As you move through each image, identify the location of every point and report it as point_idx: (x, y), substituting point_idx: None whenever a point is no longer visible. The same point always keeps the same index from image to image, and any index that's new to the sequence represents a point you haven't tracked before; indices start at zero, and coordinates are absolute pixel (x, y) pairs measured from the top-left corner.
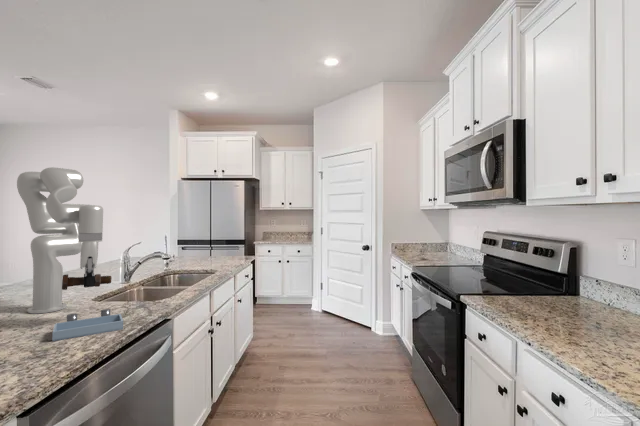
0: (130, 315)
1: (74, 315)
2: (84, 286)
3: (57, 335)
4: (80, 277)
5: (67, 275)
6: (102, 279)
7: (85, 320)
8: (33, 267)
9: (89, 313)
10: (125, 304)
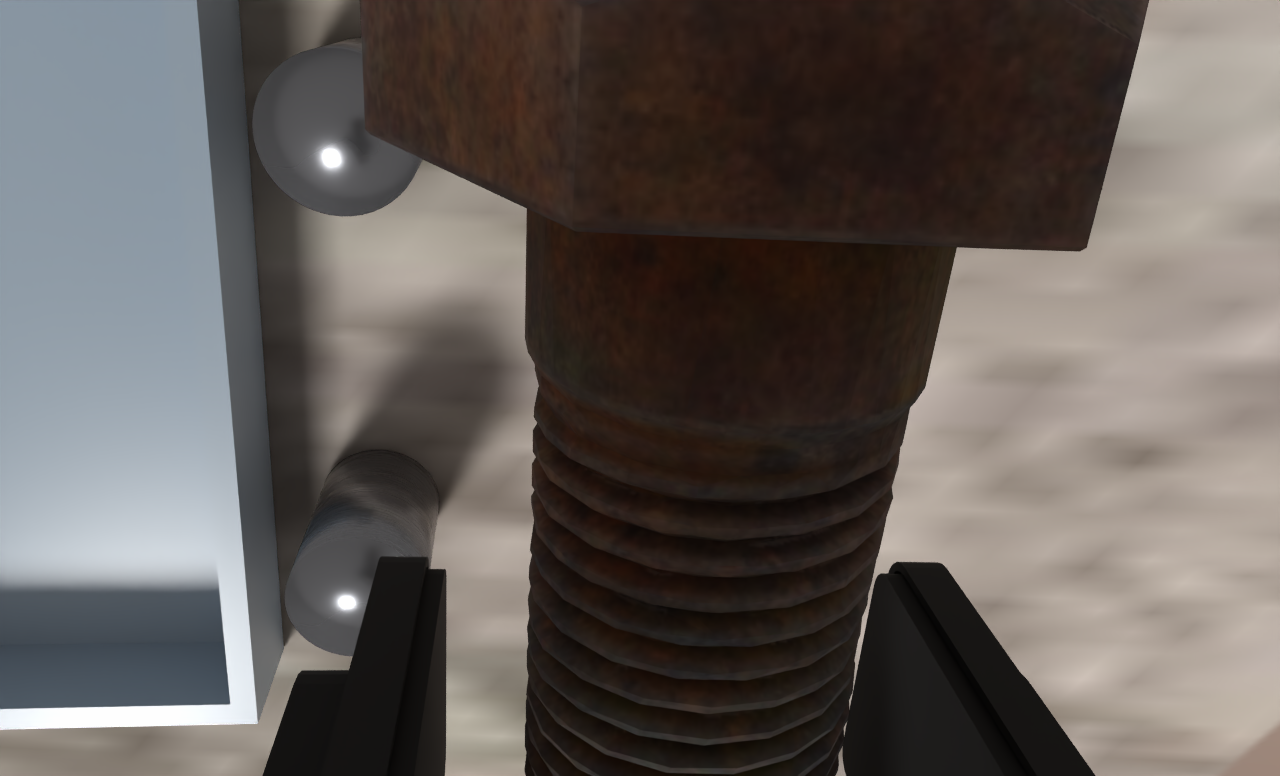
0: (524, 753)
1: (266, 167)
2: (378, 579)
3: None
4: (757, 644)
5: (708, 199)
6: None
7: (198, 301)
8: None
9: (1001, 349)
10: (1117, 736)
